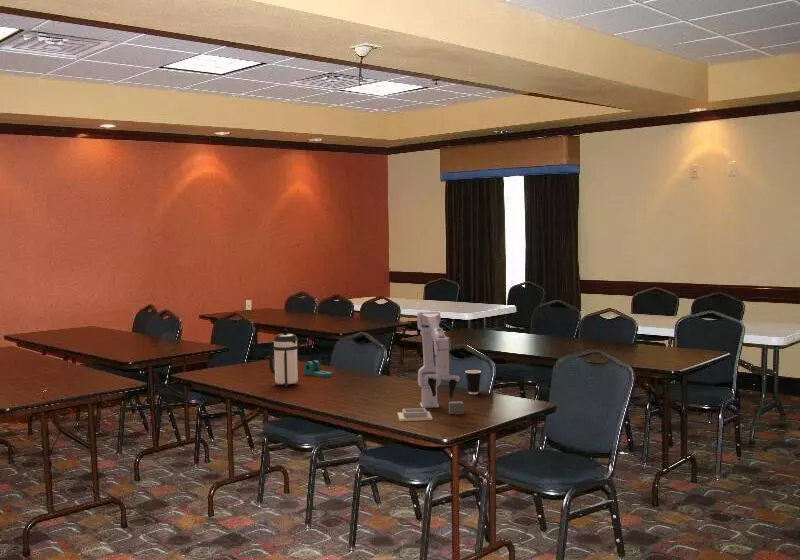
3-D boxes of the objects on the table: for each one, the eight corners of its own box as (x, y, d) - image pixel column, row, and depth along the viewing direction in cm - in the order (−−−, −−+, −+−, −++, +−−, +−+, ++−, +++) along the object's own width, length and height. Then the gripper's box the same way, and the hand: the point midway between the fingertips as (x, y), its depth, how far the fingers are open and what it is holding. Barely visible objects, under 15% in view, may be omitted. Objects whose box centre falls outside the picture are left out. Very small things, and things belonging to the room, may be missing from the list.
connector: (448, 412, 361) (448, 401, 361) (462, 412, 362) (462, 401, 362) (450, 414, 357) (450, 403, 357) (463, 414, 358) (463, 403, 358)
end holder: (397, 414, 358) (397, 408, 358) (429, 413, 360) (428, 406, 359) (399, 421, 347) (399, 414, 346) (432, 420, 348) (432, 413, 348)
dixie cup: (484, 392, 403) (484, 370, 402) (476, 395, 396) (476, 373, 395) (470, 391, 407) (469, 369, 406) (462, 393, 401) (462, 371, 400)
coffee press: (302, 381, 439) (300, 326, 437) (299, 387, 423) (297, 330, 421) (269, 382, 438) (268, 327, 436) (265, 388, 422) (264, 331, 420)
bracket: (303, 374, 460) (303, 361, 460) (312, 373, 465) (312, 359, 465) (325, 378, 448) (325, 364, 448) (334, 376, 453) (334, 362, 453)
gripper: (423, 366, 348) (423, 397, 349) (455, 367, 343) (456, 399, 344) (428, 363, 355) (429, 394, 356) (460, 365, 350) (460, 396, 350)
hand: (442, 396), depth 350 cm, fingers open, 7 cm apart
